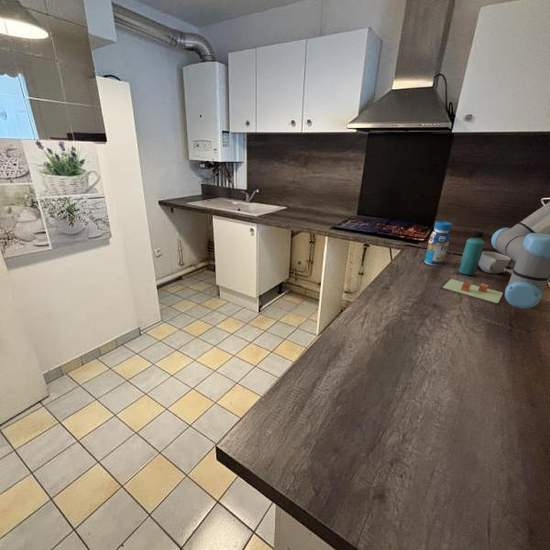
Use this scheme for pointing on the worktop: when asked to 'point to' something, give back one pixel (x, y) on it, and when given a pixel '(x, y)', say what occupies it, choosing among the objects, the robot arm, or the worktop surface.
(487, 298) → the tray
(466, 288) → the crumb
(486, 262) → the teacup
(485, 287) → the crumb
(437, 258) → the beverage bottle
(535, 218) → the robot arm
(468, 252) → the beverage bottle
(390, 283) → the worktop surface
